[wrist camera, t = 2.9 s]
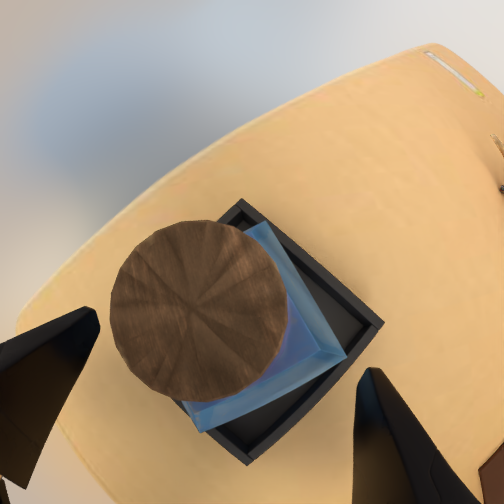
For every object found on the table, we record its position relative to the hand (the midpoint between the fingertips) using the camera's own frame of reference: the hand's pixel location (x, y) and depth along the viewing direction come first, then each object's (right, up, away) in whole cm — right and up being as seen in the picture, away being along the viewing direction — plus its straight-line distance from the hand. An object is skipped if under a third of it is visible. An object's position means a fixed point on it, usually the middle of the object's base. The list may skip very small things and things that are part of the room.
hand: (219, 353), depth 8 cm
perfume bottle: (+1, -2, +8) cm, 8 cm away
